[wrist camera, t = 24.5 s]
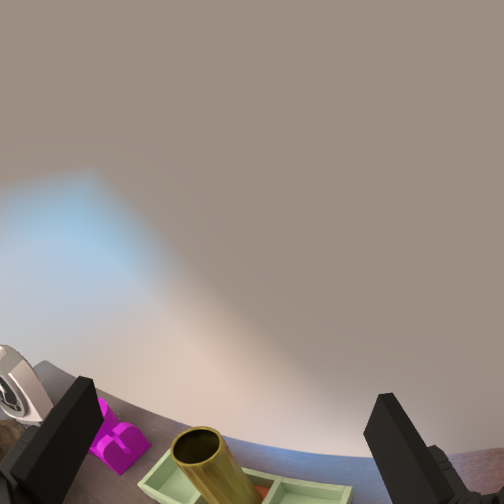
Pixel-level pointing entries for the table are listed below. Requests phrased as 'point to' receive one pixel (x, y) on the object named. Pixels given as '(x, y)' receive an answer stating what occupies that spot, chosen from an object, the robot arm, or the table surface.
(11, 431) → the bowl
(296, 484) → the tray
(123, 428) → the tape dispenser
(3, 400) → the alarm clock
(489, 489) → the table surface
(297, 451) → the table surface
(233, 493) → the vase
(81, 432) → the robot arm
